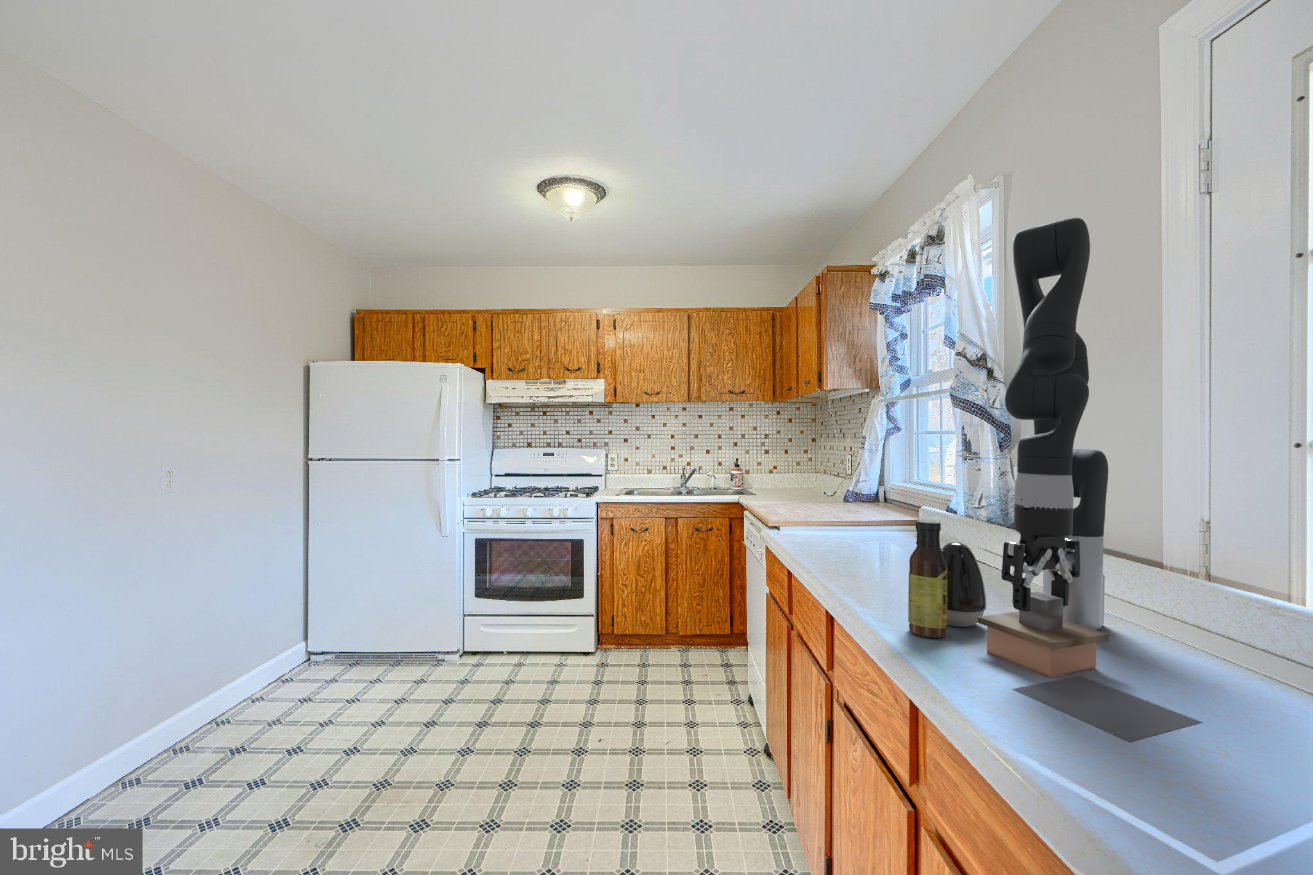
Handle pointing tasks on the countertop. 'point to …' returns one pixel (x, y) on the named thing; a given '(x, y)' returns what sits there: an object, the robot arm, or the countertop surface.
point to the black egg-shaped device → (963, 586)
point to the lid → (1043, 624)
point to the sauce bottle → (927, 583)
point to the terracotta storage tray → (1041, 654)
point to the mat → (1107, 708)
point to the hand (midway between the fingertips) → (1040, 607)
